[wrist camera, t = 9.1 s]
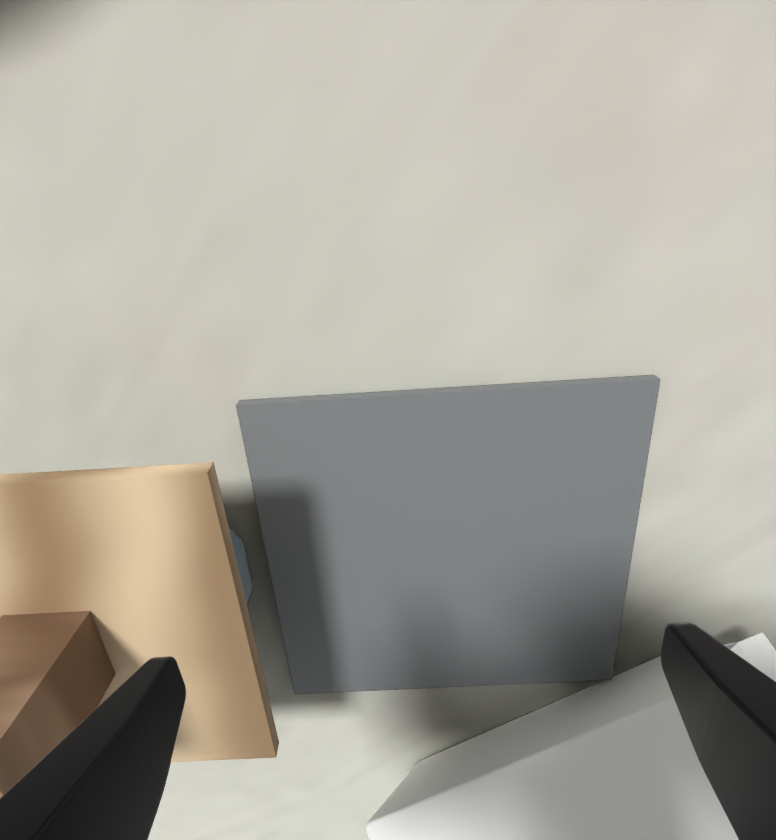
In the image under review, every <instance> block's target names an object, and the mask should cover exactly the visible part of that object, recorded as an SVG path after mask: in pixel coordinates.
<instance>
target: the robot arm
mask: <svg viewBox="0 0 776 840" xmlns="http://www.w3.org/2000/svg"><path fill="white" fill-rule="evenodd" d="M661 665H662V669H663V672H664V674H665V677H666V679H667V682H668V685H669V687H670V690H671V692H672V695H673V697H674V700H675V702H676V705H677V707H678V710H679V712H680V715H681V717H682V720H683V723H684V725H685V728H686V730H687V733H688V735H689V738H690V740H691V743H692V745H693V748H694V750H695V752H696V755H697V757H698V760H699V762H700V764H701V766H702V768H703V770H704V772H705V774H706V776H707V778H708V780H709V782H710V784H711V786H712V788H713V790H714V792H715V794H716V796H717V798H718V800H719V802H720V804H721V806H722V808H723V810H724V812H725V814H726V816H727V817H728V819H729V821H730V823H731V825H732V827H733V829H734V831H735V833H736V835H737V837H738V839H739V840H776V681H774V680H773V679H771V678H770V677H769V676H767V675H766V674H764V673H763V672H761V671H760V670H759V669H757V668H756V667H754V666H753V665H752V664H750V663H749V662H747V661H746V660H744V659H743V658H742V657H740V656H739V655H737V654H736V653H735V652H733V651H732V650H730V649H729V648H727V647H726V646H725V645H723V644H722V643H720V642H719V641H717V640H716V639H715V638H713V637H712V636H710V635H709V634H708V633H706V632H705V631H703V630H702V629H700V628H699V627H698V626H696V625H694V624H692V623H673V624H668V625H667V627H666V629H665V633H664V639H663V645H662V651H661ZM185 699H186V687H185V683H184V680H183V678H182V675H181V672H180V669H179V667H178V664H177V661H176V659H175V658H174V657H171V656H166V657H154V658H151V659H149V660H148V661H147V662H146V663H144V664H143V665H142V666H141V667H140V668H139V669H138V670H137V671H136V672H135V673H134V674H133V675H132V676H131V677H129V678H128V679H127V680H126V681H125V682H124V683H123V684H122V685H121V686H120V687H119V688H118V689H117V690H116V691H114V692H113V693H112V694H111V695H110V696H109V697H108V698H107V699H106V700H105V701H104V702H103V703H102V704H101V705H99V706H98V707H97V708H96V709H95V710H94V711H93V712H92V713H91V714H90V715H89V716H88V717H87V718H86V719H84V720H83V721H82V722H81V723H80V724H79V725H78V726H77V727H76V728H75V729H74V730H73V731H72V732H71V733H69V734H68V735H67V736H66V737H65V738H64V739H63V740H62V741H61V742H60V743H59V744H58V745H57V746H56V747H54V748H53V749H52V750H51V751H50V752H49V753H48V754H47V755H46V756H45V757H44V758H43V759H42V760H41V761H39V762H38V763H37V764H36V765H35V766H34V767H33V768H32V769H31V770H30V771H29V772H28V773H27V774H26V775H24V776H23V777H22V778H21V779H20V780H19V781H18V782H17V783H16V784H15V785H14V786H13V787H12V788H11V789H9V790H8V791H7V792H6V793H5V794H4V795H3V796H2V797H1V798H0V840H147V839H148V836H149V833H150V830H151V827H152V825H153V822H154V819H155V816H156V813H157V810H158V807H159V804H160V800H161V797H162V794H163V791H164V787H165V784H166V780H167V776H168V772H169V768H170V763H171V759H172V755H173V751H174V746H175V742H176V738H177V734H178V729H179V725H180V721H181V717H182V712H183V708H184V704H185Z"/></svg>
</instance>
